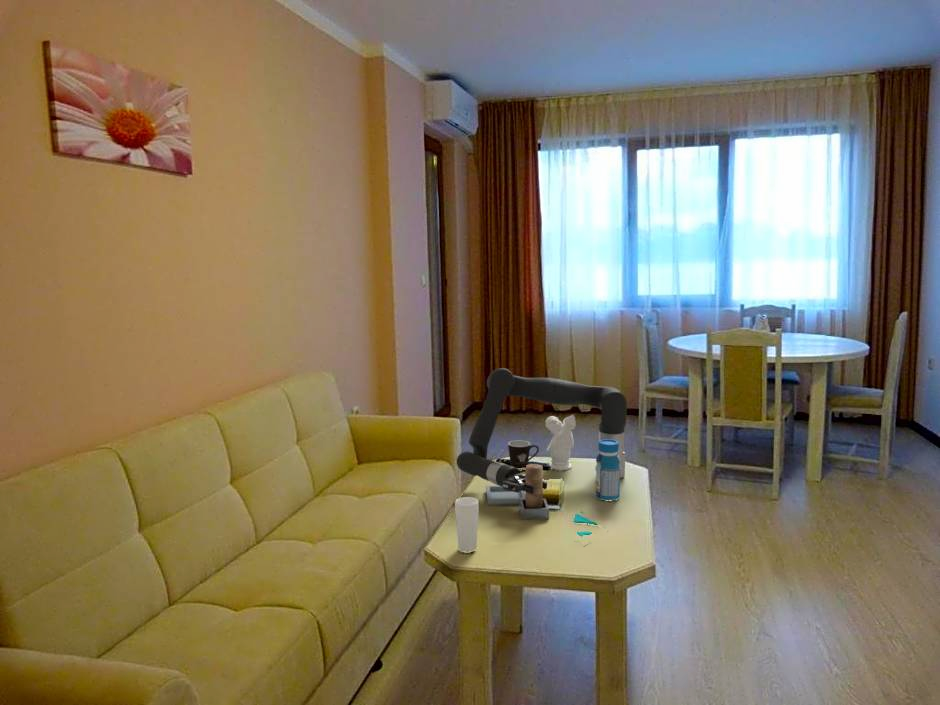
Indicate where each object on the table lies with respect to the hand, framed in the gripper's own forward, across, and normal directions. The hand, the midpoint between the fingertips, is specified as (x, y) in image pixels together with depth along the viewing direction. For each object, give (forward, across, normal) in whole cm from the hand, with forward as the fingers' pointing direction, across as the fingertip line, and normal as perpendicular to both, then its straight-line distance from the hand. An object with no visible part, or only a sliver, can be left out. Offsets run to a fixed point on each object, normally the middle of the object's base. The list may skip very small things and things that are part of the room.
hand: (539, 488), depth 223 cm
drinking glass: (+2, -32, +10) cm, 34 cm away
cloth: (+16, +4, +11) cm, 19 cm away
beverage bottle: (+4, +30, +10) cm, 32 cm away
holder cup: (-3, 0, +10) cm, 10 cm away
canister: (-3, 0, +10) cm, 10 cm away
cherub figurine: (-28, +44, +10) cm, 53 cm away
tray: (-19, +4, +10) cm, 22 cm away
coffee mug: (-37, +30, +10) cm, 49 cm away
